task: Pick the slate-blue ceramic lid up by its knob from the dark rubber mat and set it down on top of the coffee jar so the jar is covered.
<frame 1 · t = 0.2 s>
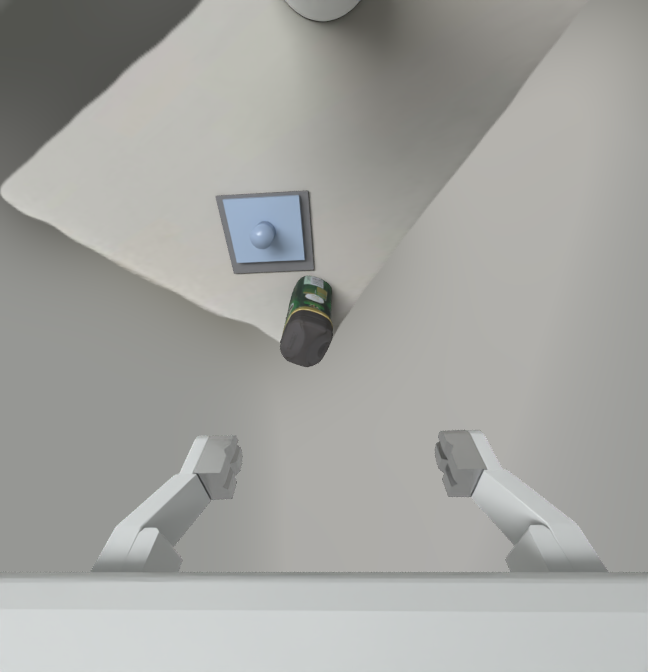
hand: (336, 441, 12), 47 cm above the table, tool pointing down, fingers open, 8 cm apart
lid: (267, 229, 52), resting on mat
mat: (268, 234, 53), on the table
coffee jar: (311, 295, 60), on the table
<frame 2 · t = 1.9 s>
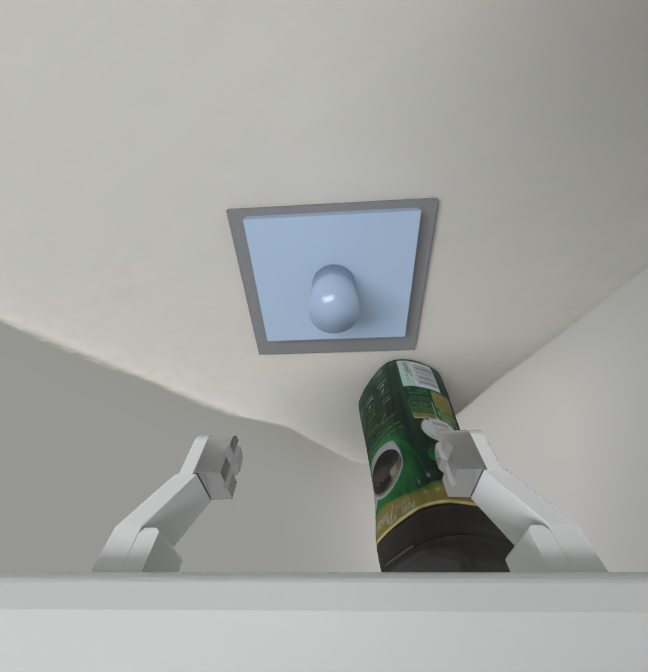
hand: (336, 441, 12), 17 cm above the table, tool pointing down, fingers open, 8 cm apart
lid: (333, 279, 25), resting on mat
mat: (333, 287, 26), on the table
coffee jar: (397, 387, 33), on the table
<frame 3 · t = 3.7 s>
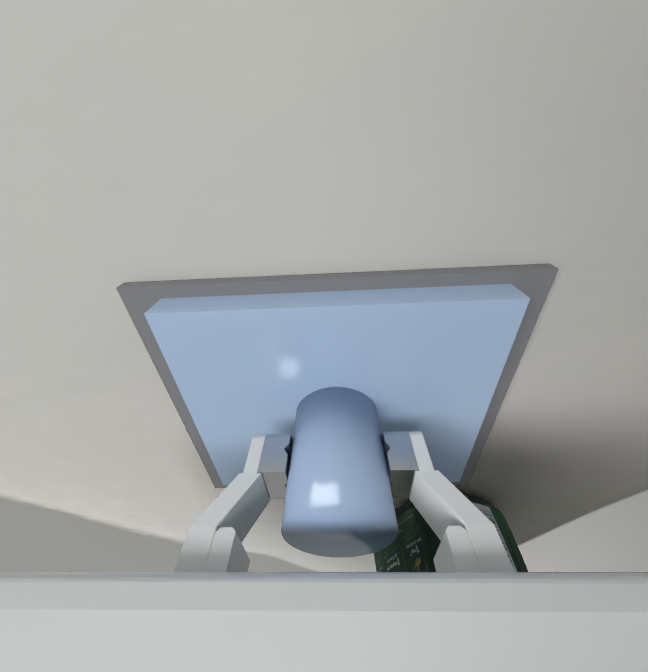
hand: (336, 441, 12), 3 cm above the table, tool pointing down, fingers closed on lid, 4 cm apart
lid: (335, 396, 14), resting on mat, touching gripper
mat: (335, 403, 15), on the table
coffee jar: (432, 517, 22), on the table
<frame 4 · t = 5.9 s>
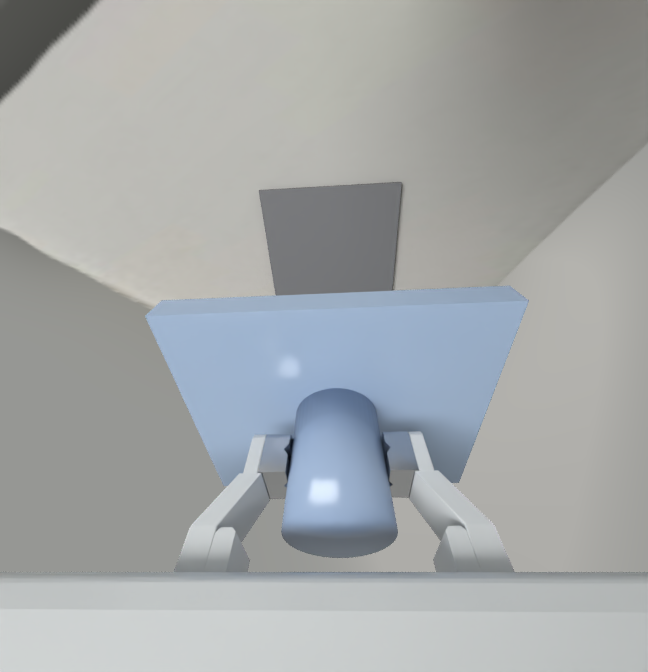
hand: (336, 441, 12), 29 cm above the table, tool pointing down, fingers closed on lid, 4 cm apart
lid: (335, 397, 14), point 27 cm above the table, touching gripper
mat: (331, 247, 36), on the table
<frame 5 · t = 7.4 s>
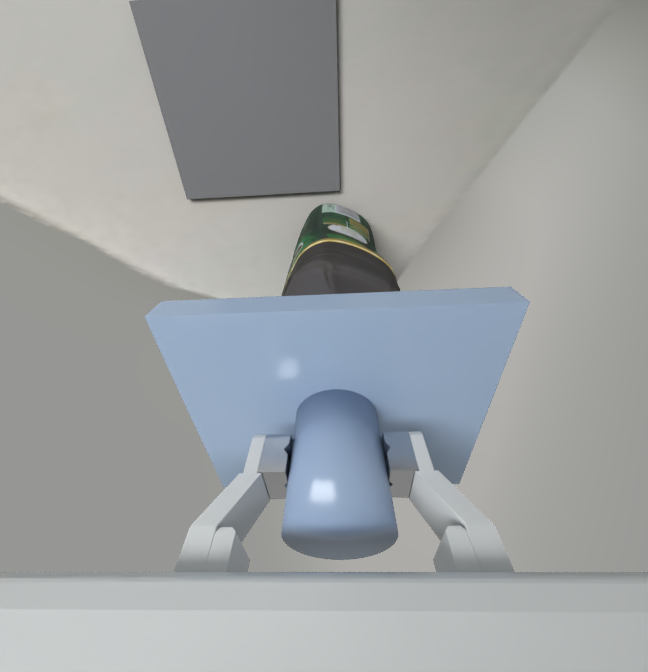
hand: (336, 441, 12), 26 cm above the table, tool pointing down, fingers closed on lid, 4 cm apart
lid: (335, 398, 14), point 23 cm above the table, touching gripper
mat: (250, 109, 26), on the table
coffee jar: (332, 247, 33), on the table
when the fingers open (22 cm above the table, at t = 8.3 s): lid drops 1 cm, resting on coffee jar.
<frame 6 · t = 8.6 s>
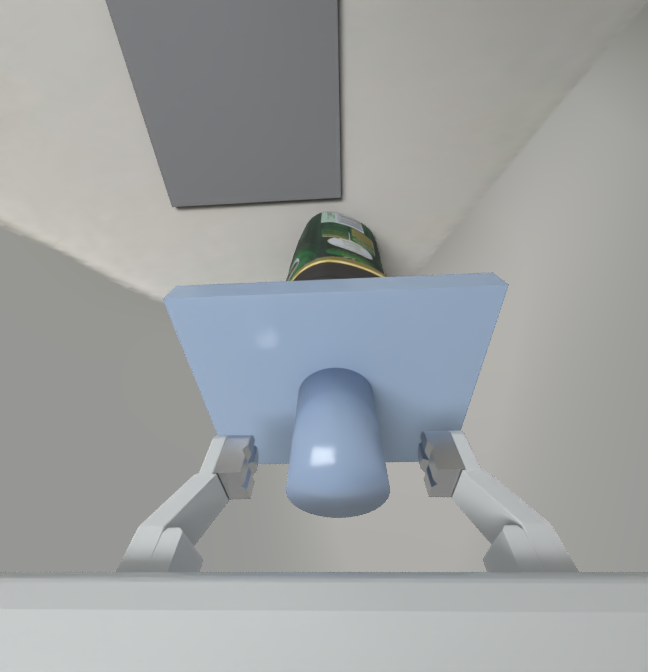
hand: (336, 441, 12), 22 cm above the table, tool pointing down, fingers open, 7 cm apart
lid: (335, 379, 15), point 18 cm above the table, touching coffee jar
mat: (240, 107, 23), on the table
coffee jar: (332, 259, 30), on the table, touching lid
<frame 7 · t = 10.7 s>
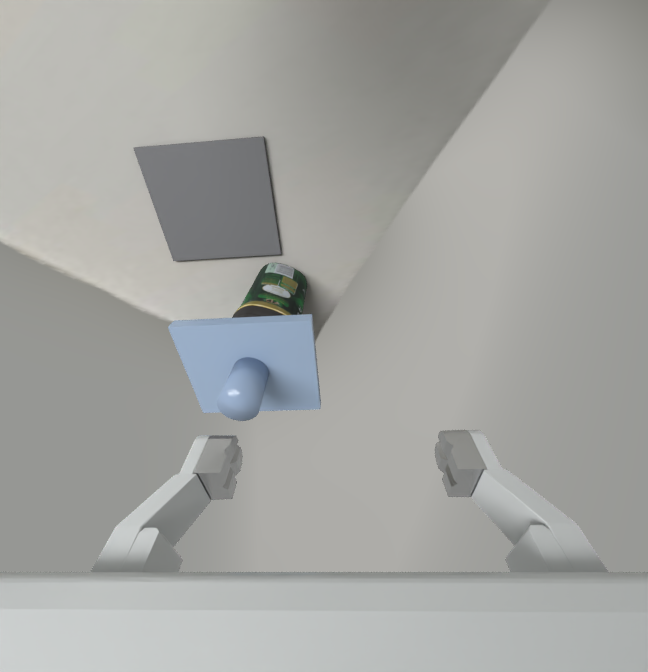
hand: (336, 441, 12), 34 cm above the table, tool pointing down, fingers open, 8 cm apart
lid: (253, 364, 29), point 18 cm above the table, touching coffee jar
mat: (214, 205, 38), on the table
coffee jar: (280, 291, 45), on the table, touching lid
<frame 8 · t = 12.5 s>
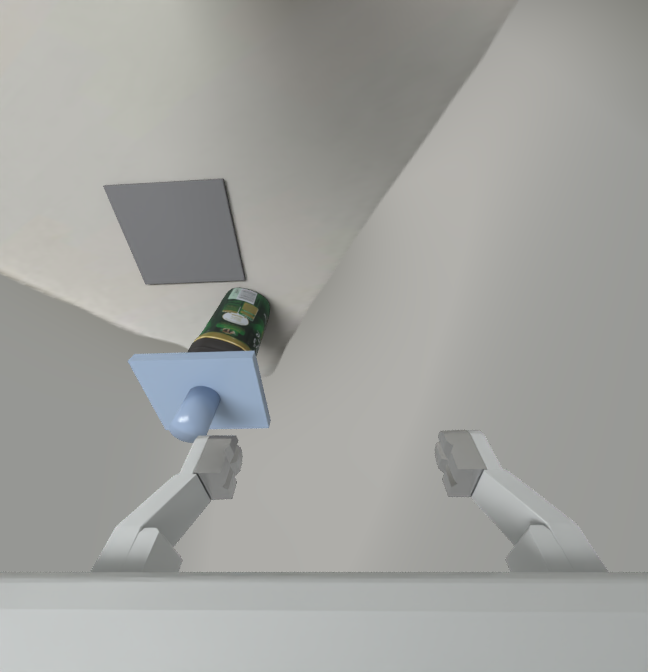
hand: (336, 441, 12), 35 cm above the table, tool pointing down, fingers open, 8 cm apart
lid: (208, 389, 33), point 18 cm above the table, touching coffee jar
mat: (181, 236, 42), on the table
coffee jar: (246, 311, 49), on the table, touching lid
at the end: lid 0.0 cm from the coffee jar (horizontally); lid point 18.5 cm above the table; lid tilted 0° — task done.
